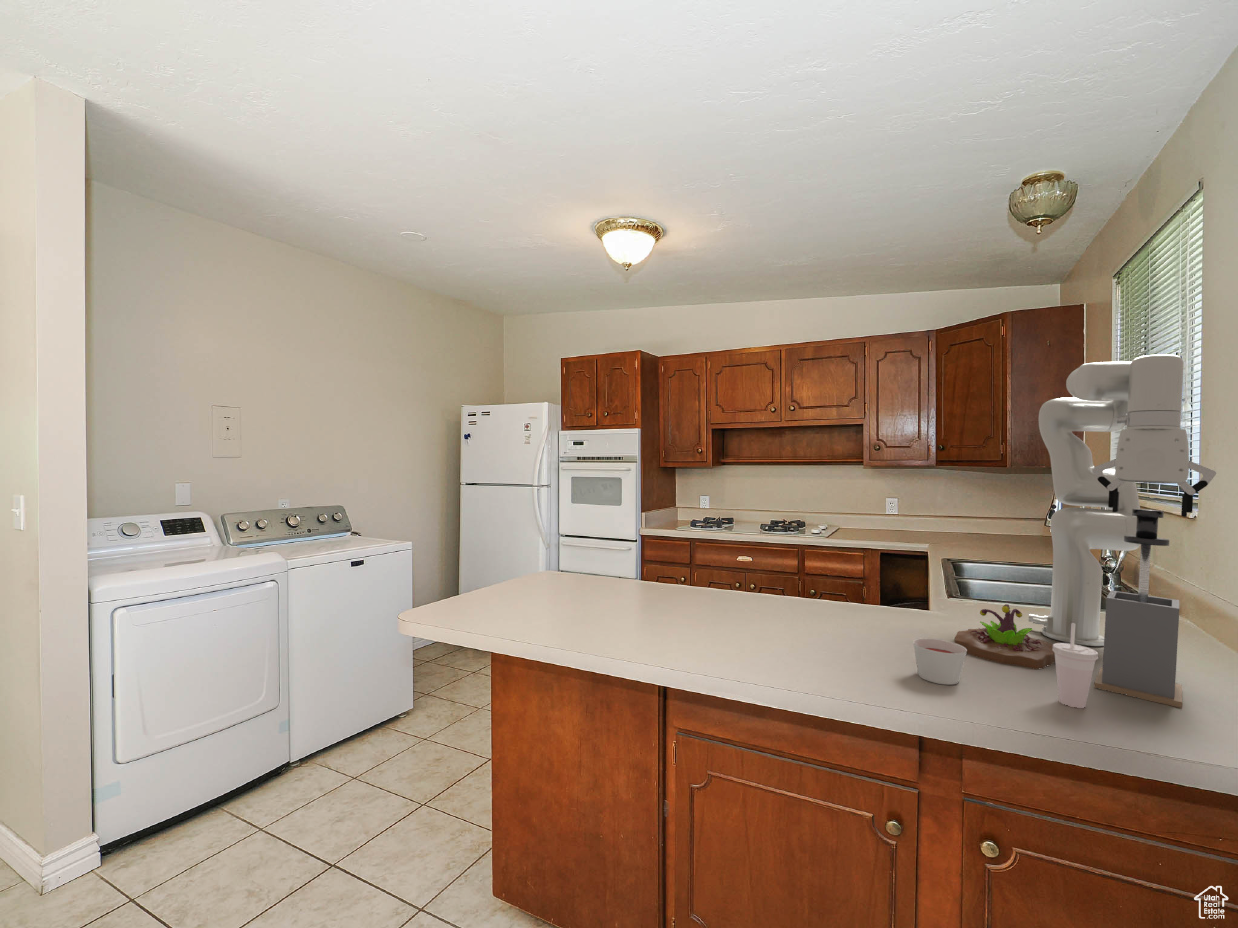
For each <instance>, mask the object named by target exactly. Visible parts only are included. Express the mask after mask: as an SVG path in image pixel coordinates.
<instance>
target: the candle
mask: <svg viewBox="0 0 1238 928" xmlns="http://www.w3.org/2000/svg"><path fill="white" fill-rule="evenodd" d="M913 649H914V656H915V657H914V658H915V661H916V670H917V674H918V676H919V677H920V678H921V679H923V680H925V681H927V682H930V683H934V684H939V685H949V686H950V685H951V686H952V685H956V684H958V683H959V682H960V679H961V676H962V671H963V669H964V668H963V667H964V664H965V661H966V657H967V654H968V653H967V649H966V648H965V647H963V646H961V645H959V644H956V643H955V642H954V641H953V642H952V641H949V640H943V639H938V638H931V637H930V638H928V637H925V638H923V637H922V638H916V639H913Z"/></svg>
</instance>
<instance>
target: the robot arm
mask: <svg viewBox="0 0 1238 928" xmlns="http://www.w3.org/2000/svg"><path fill="white" fill-rule="evenodd" d="M1065 381H1066V382H1065V383H1066V384H1065V385H1066V390H1067V391H1068V393H1069V394H1070V395H1071V396H1072V397H1060V398H1059V397H1058V398H1053V399H1049V400H1048V401H1045V402H1044V403H1043V404H1041V407H1040V409H1039V412H1038V429H1039V433H1040V436H1041V438H1042V441H1043V443H1044V445H1045V447H1046V449H1047V451H1048V455H1049V459H1050V467H1051V476H1052V478H1051V479H1052V483H1053V484H1052V485H1053V486H1052V487H1053V492H1054V496H1055V498H1056V500H1057V501H1058V502H1059V503H1061V504H1063V505H1068V506H1077V507H1064V508H1061V509H1058V510H1056V511H1055V512H1054V513H1053V514H1052V516H1051V517H1050V522H1049V523H1050V524H1049V526H1050V534H1051V541H1052V575H1051V577H1052V579H1051V597H1050V613H1049V614H1048V615H1044V616H1043V615H1042V616H1041V615H1038V614H1033V613H1029V614H1028V622H1031V623H1032V624H1035V625H1041V626H1042V625H1043V626H1044V627H1042V628H1041V634H1042V635H1044V636H1045V637H1048V638H1049V639H1053V640H1056V641H1059V642H1062V643H1068V644H1070V640H1071V623H1074V624H1075V641H1074V644H1075V645H1080V646H1085V647H1087V646H1088V647H1104V635H1101V634H1100V622H1101V621H1100V619H1101V605H1102V604H1101V602H1102V584H1103V567H1102V565H1101V563H1100V562H1099V560H1098V559H1097V558H1096V557H1095V556H1094V554H1093V553H1092V552H1091V550H1105V551H1107V550H1108V551H1120V552H1121V551H1122V552H1130V551H1134V550H1135V551H1136V550H1137V549H1139V548H1141V544H1136V543H1129V542H1125V541H1124V536H1125V535H1132V536H1136V524H1137V516H1132V509H1141V506H1140V500H1139V499H1140V498H1139V493H1138V489H1137V483H1150V484H1151V483H1152V484H1176V485H1178V486H1179V487H1180V488H1181V489H1182V490H1183V494H1182V495H1181V496H1182V497H1181V515H1180V516H1181V517H1184V518H1188V517H1187V515H1188V513H1189V514H1193V508H1194V507H1193V506H1194V502H1193V501H1194V496H1195V494H1196V493H1199V491H1201V490H1203V489H1205V488H1206V487H1208V485H1209V484H1210V482H1211V481H1212V480H1214V478H1215V476H1216V474H1217V471H1215V470H1213V469H1211V468H1208V467H1206V466H1203V465H1201V464H1198V463H1196V462H1193V461H1192V460H1190V459H1189V458H1190V457H1189V455H1190V453H1189V439H1188V434H1187V430H1186V429H1185V428H1182V429H1181V426H1182V425H1181V421H1182V420H1181V419H1182V399H1183V382H1184V360H1183V359H1182V357H1180V356H1179V355H1176V354H1167V353H1166V354H1165V353H1164V354H1150V355H1143V356H1142V355H1141V356H1139V357H1135V358H1134V359H1133V360H1132V361H1103V362H1102V361H1100V362H1089V363H1083V364H1081V365H1080V366H1079V367H1077V368H1075V370H1073V371H1071V373H1070V374H1069V375H1068V377H1067V378H1066V380H1065ZM1125 426H1126V429H1125V428H1124V427H1125ZM1117 431H1120V433H1119V437H1118V441H1117V447H1116V453H1115V454H1116V455H1115V459H1112V460H1109V461H1106V462H1104V463H1101V464H1099V465H1098V464H1097V465H1094V461H1093V452H1092V450H1091V448H1090V447H1089V446H1088V445H1087V444H1086V443H1085V442H1084V441H1083V440H1082V439H1081V438H1080V437H1078V436H1077V435H1075V434H1074V433H1073V432H1095V433H1097V432H1098V433H1099V432H1100V433H1101V432H1103V433H1112V432H1117ZM1190 470H1192V471H1195V472H1197V473H1199V474H1201V475H1202V477H1201V479H1200V480H1199V481H1197V482H1196V483H1195V484H1194V485H1192V486H1191V484H1189V483H1188V482H1187V480H1188V478H1189V474H1190V473H1189V471H1190ZM1088 507H1089V508H1088ZM1090 507H1092V508H1090ZM1093 507H1094V508H1093ZM1100 508H1101V509H1100ZM1103 508H1106V509H1103Z"/></svg>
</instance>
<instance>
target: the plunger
mask: <svg viewBox="0 0 1238 928" xmlns="http://www.w3.org/2000/svg"><path fill="white" fill-rule="evenodd" d="M1164 514H1165V513H1164V510H1157V509H1145V508H1140V509H1132V516H1137V524H1136V536H1132V535H1125V536H1124V541H1125V542H1129V543H1136V544H1141V545H1140V556H1139V558H1140V559H1139V573H1138V575H1139V577H1138V591H1137V594H1138V602H1144V603H1148V596H1149V589H1150V588H1149V587H1150V573H1151V572H1150V571H1151V570H1150V568H1151V554H1152V553H1151V552H1152V551H1151V550H1152V548H1151V547H1152V546H1159V547H1166V546H1167V547H1168V546H1170V539H1168V538H1163V537H1158V530H1159V529H1158V527H1159V519H1160V518H1161V519H1164Z"/></svg>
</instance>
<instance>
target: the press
mask: <svg viewBox="0 0 1238 928" xmlns="http://www.w3.org/2000/svg"><path fill="white" fill-rule="evenodd" d="M1105 600H1106V601H1105V615H1104V616H1105V621H1104V635H1103V637H1104V646H1103V652H1102V653H1103V657H1102V667H1100V668H1099V671H1098V673H1097V675H1096V679H1095V681H1094V684H1093V686H1094V687H1093V689H1097V688H1100V689H1099V690H1103V691H1106V690H1108V691H1107V692H1110V691H1113V692H1112V693H1114V694H1115V693H1116V694H1119V693H1121V694H1120V695H1123V694H1127V695H1126V696H1128V697H1132V696H1134V697H1133V698H1136V697H1139V698H1138V699H1142V700H1146V701H1150V702H1154V703H1159V704H1163V705H1167V706H1172V707H1175V708H1179V709H1182V708H1183V686H1182V685H1183V684H1181V683H1176V676H1177V659H1178V640H1179V625H1180V624H1179V623H1180V621H1179V620H1180V599H1173V598H1167V597H1161V596H1154V595H1153V596H1152V595H1148V603H1144V602H1138V593H1131V592H1126V591H1125V592H1124V591H1118V590H1110V591H1109V593H1108V594H1107V596H1106V599H1105Z"/></svg>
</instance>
